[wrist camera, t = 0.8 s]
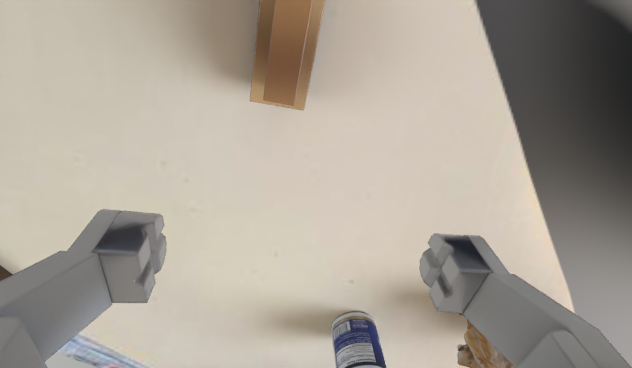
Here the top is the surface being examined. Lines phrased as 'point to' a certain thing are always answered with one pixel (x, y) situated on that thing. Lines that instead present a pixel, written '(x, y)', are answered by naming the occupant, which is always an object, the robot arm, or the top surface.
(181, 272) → the top surface
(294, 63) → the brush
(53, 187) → the top surface
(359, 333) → the pill bottle
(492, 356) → the lion figurine
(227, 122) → the top surface
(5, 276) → the board
